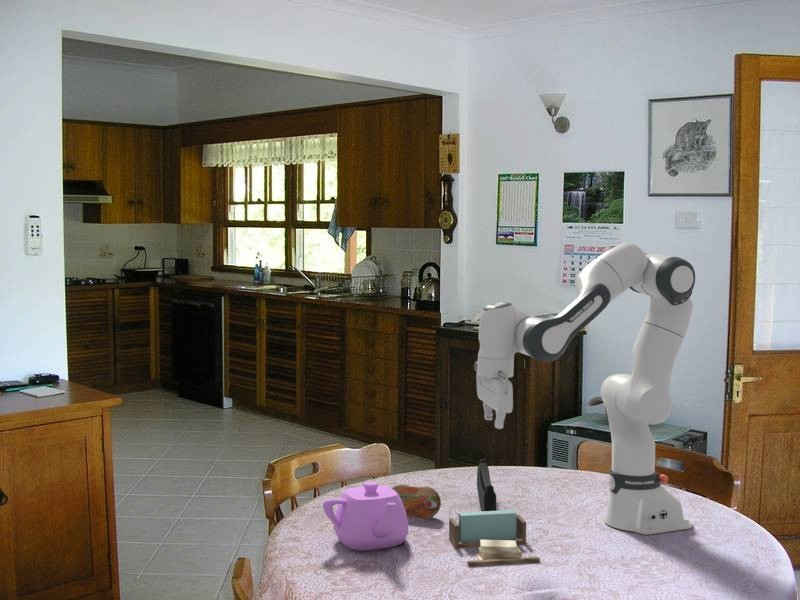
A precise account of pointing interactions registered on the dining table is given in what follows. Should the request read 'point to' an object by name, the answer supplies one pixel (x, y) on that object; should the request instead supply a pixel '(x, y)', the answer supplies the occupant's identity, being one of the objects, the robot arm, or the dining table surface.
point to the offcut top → (498, 546)
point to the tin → (419, 500)
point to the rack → (455, 542)
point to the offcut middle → (499, 555)
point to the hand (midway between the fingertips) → (493, 423)
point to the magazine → (485, 488)
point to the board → (487, 525)
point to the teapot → (368, 517)
